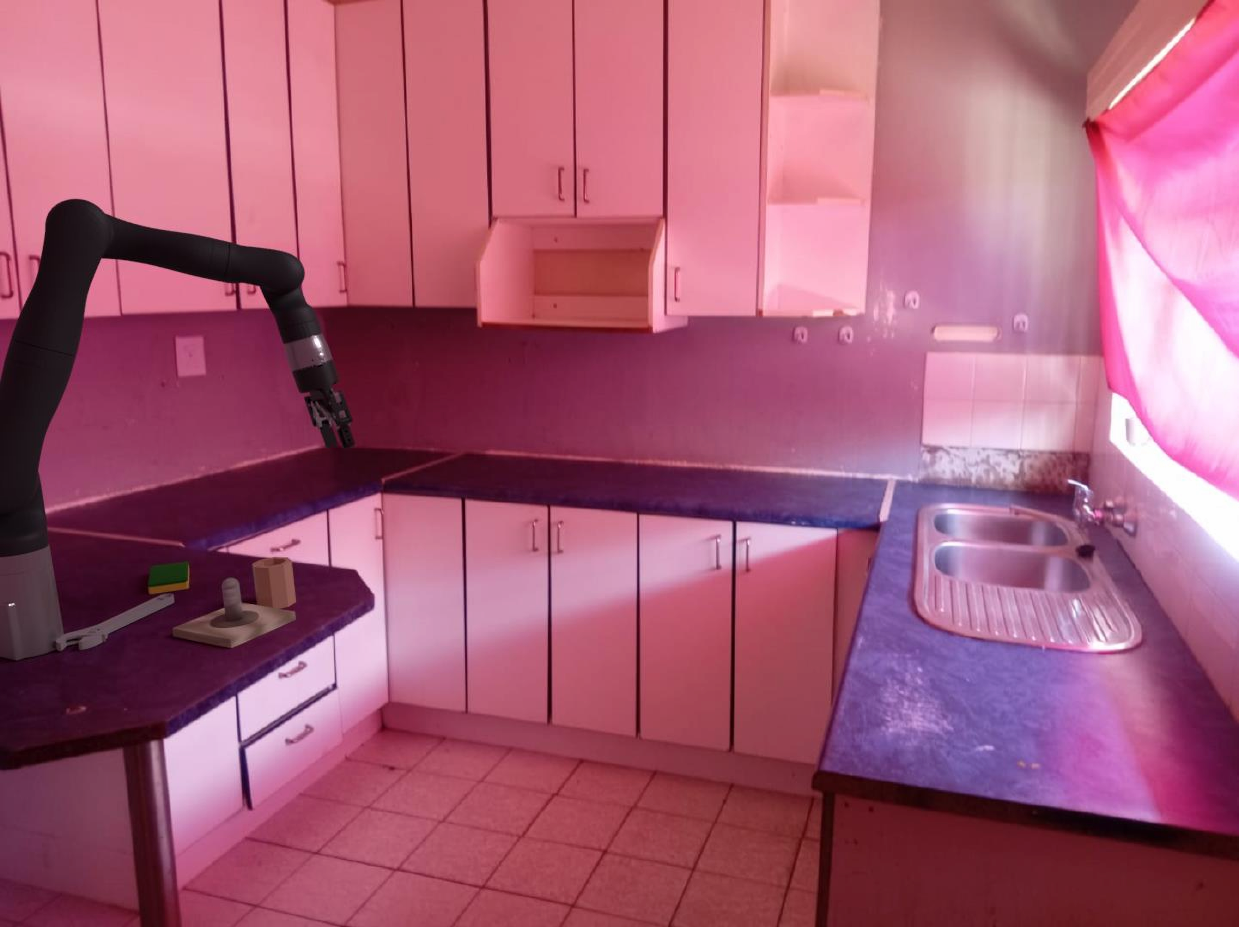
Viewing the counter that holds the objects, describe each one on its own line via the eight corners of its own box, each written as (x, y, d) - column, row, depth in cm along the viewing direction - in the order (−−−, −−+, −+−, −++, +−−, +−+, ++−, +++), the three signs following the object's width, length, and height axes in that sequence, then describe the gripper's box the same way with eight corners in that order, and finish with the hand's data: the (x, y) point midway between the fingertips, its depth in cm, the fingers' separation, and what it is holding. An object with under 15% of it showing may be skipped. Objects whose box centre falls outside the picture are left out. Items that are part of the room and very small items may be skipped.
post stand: (231, 648, 157) (224, 595, 155) (173, 636, 163) (166, 585, 161) (295, 619, 169) (290, 570, 167) (239, 609, 175) (233, 562, 174)
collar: (262, 612, 173) (257, 569, 172) (254, 602, 179) (249, 561, 177) (298, 604, 177) (294, 562, 175) (290, 595, 182) (285, 555, 181)
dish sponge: (189, 571, 202) (188, 560, 201) (189, 590, 189) (187, 578, 189) (152, 577, 199) (150, 565, 199) (149, 596, 187) (147, 584, 186)
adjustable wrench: (165, 600, 182) (164, 591, 182) (192, 604, 180) (192, 595, 180) (49, 649, 159) (48, 639, 159) (79, 654, 157) (78, 644, 157)
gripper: (279, 371, 178) (308, 453, 181) (305, 366, 166) (336, 454, 170) (317, 359, 182) (345, 440, 185) (344, 354, 170) (374, 440, 174)
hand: (340, 447), depth 178 cm, fingers open, 8 cm apart
